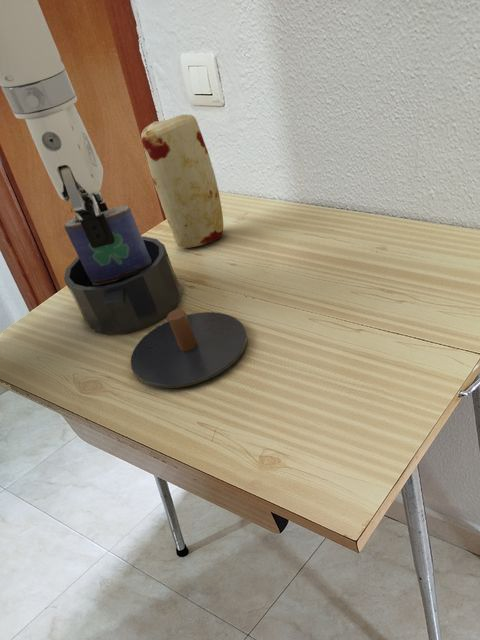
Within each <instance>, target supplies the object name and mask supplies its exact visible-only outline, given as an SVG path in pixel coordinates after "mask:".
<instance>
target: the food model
mask: <svg viewBox="0 0 480 640" xmlns="http://www.w3.org/2000/svg"><path fill="white" fill-rule="evenodd" d="M140 136H141V138H140V139H141V143H142V146H143V150H144V153H145V156H146V162H147V165H148V170H149V173H150V176H151V179H152V182H153V186H154V189H155V190H156V193H157V197H158V200H159V202H160V204H161V205H160V206H161V209H162V210H163V214H164V216H165V219H166V222H167V223H168V225H169V228H170V230H171V234H172V236H173V239H174V242H175V244H176V246H178V247H180V248H186V249H188V248H194V247H199V246H204V245H206V244H210V243H212V242H214V241H217V240H220V238H222V236H224V235H223V234H224V229H225V228H224V216H223V208H222V203H221V197H220V192H219V186H218V183H217V178H216V174H215V171H214V168H213V164H212V160H211V157H210V154H209V152H208V148H207V145H206V142H205V140H204V137H203V134H202V132H201V129H200V126H199V123H198V121H197V119H196V117H195V116H194V115H193V114H179V115H177V116H174V117H171V118H168V119H163V120H156V121H153V122H151V123H150V124H148V125H147V126H145V127H144V128H143V130H142V131H141V135H140Z"/></svg>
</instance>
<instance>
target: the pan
mask: <svg viewBox="0 0 480 640" xmlns="http://www.w3.org/2000/svg"><path fill="white" fill-rule="evenodd" d="M141 237H142V239H143V241H144V244H145V247H146V249H147V251H148V254H149V256H150V258H151V260H152V262H151V263H152V265H151V266H149V267H148V268H147V269H145V270H144V271H142V272H139V273H136V274H134V275H130V276H128V277H123V278H121V279H118V280H116V281H111V282H107V283H103V284H98V285H96V284H94V285H93V284H92V282H91V281H90V279H89V277H88V275H87V273H86V271H85V269H84V267H83V265H82V263H81V261H80V259H79V257H78V256H77V257H76V258H75V259H74V260H72V262H71V263H70V264H69V265H68V266H67V267H66V268H65V271H64V276H63V281H64V282H65V285H66V287H67V288H68V291H69V292H70V295H71V296H72V298H73V300H74V302H75V304H76V306H77V308H78V310H79V311H80V314H81V315H82V317H83V319H84V321H85V322H86V323H87V325H88V327H89V328H90V330H92V331H94V332H96V333H99V334H103V335H113V336H114V335H125V334H130V333H134V332H137V331H141V330H143V329H146V328H149V327H151V326H153V325H155V324H158V323H159V322H160V321H162V320H164V319H165V318H167V315H168V314H169V313H170V312H171V311H173V310H176V308H177V306H178V305H179V303H180V302H181V301H180V300H181V299H182V293H181V289H180V284H179V281H178V279H177V276H176V273H175V271H174V268H173V265H172V262H171V259H170V257H169V254H168V251H167V249H166V246H165V244H164V243H162V242H161V241H160V240H159V239H157V238H153V237H148V236H142V235H141Z"/></svg>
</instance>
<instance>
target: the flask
mask: <svg viewBox="0 0 480 640" xmlns="http://www.w3.org/2000/svg"><path fill="white" fill-rule="evenodd" d="M96 203H97V202H96ZM97 204H98V203H97ZM101 214H104V216H105V218H106V220H107V223H108V225H109V227H110V230H111V232H112V234H113V237H114V239H115V241H114V243H113V244H109V245H105V246H101V247H97V248H93V247H92V246H91V244H90V242H89V240H88V238H87V236H86V234H85V232H84V229H83V227H82V225H81V223H80V221H79V219H78V216H77V215H74V216H73V218H72V219H70V220H67V221H66V222H65V223H64V230H65V232H66V234H67V236H68V238H69V240H70V242H71V245H72V246H73V248H74V250H75V252H76V254H77V257H79V259H80V261H81V263H82V265H83V267H84V269H85V271H86V273H87V275H88V277H89V279H90V281H91V282H92V284H93V285H94V284H96V285H98V284H103V283H107V282H111V281H116V280H118V279H121V278H123V277H128V276H130V275H134V274H136V273H139V272H142V271H144V270H145V269H147V268H148V267H149V266H151V265H152V263H151V262H152V260H151V258H150V256H149V254H148V251H147V249H146V247H145V244H144V241H143V239H142V235H141V232H140V230H139V227H138V225H137V223H136V220H135V217H134V215H133V211H132V209H131V207H130V206H129V205H125V204H123V205H119V206H116V207H114V208H111V209H108V210H107V211H104V212H101Z"/></svg>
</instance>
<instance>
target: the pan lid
mask: <svg viewBox="0 0 480 640" xmlns="http://www.w3.org/2000/svg"><path fill="white" fill-rule="evenodd" d="M166 318H167V321H166V322H164V323H161V324H160V325H158V326H156V327H155V328H154V329H151V331H149V332H148V333H147V334H145V336H143V337H142V338H141V340H140V341H138V343H137V344H136V346H135V347H134V349H133V351H132V354H131V355H130V367H131V370H132V372H133V374H134V375H135V377H136V378H137V379H138V380H139V381H141V382H142V383H144V384H146V385H148V386H152V387H154V388H155V387H157V388H161V389H162V388H164V389H174V388H175V389H177V388H184V387H189V386H193V385H197V384H200V383H203V382H205V381H207V380H210V379H212V378H214V377H216V376H218V375H219V374H221V373H223V372H224V371H226V370H227V369H228V368H230V367H231V366H233V364H235V362H237V360H239V358H240V357H241V355H242V354H243V353H244V350H245V348H246V346H247V342H248V335H247V331H246V328H245V326H244V325H243V323H242V322H241V321H240V320H239V319H237V318H236V317H234V316H232V315H230V314H226V313H222V312H214V311H206V312H205V311H204V312H203V311H202V312H195V313H194V312H193V313H189V314H187V313H186V310H185V309H183V308H181V309H180V308H177V309H174V310H173V311H171V312H170V313H169V314H168V315H167V316H166Z"/></svg>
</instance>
